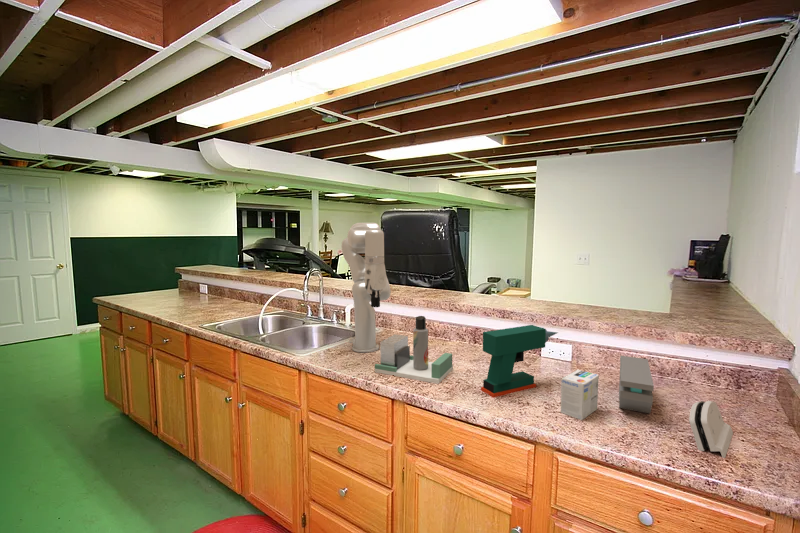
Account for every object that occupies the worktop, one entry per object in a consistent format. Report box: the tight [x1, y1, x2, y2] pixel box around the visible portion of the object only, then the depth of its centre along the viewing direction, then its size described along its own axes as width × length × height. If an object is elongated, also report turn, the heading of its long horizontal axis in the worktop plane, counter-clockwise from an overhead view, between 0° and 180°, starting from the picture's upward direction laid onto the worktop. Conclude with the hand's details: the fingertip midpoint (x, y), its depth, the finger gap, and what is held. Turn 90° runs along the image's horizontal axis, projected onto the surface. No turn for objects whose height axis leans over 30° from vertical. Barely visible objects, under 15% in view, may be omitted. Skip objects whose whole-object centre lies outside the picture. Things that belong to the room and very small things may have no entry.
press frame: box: [374, 352, 454, 385], centre depth 147 cm, size 26×16×6 cm, turn 63°
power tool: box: [480, 324, 559, 398], centre depth 132 cm, size 32×7×20 cm, turn 115°
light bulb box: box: [560, 369, 600, 421], centre depth 113 cm, size 11×7×11 cm, turn 131°
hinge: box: [688, 400, 734, 459], centre depth 97 cm, size 17×5×10 cm, turn 134°
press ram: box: [379, 333, 411, 370], centre depth 150 cm, size 7×12×10 cm, turn 153°
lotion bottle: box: [412, 315, 429, 370], centre depth 145 cm, size 6×6×20 cm
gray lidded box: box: [618, 355, 655, 414], centre depth 118 cm, size 25×8×11 cm, turn 150°
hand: (375, 306), depth 152 cm, fingers closed
